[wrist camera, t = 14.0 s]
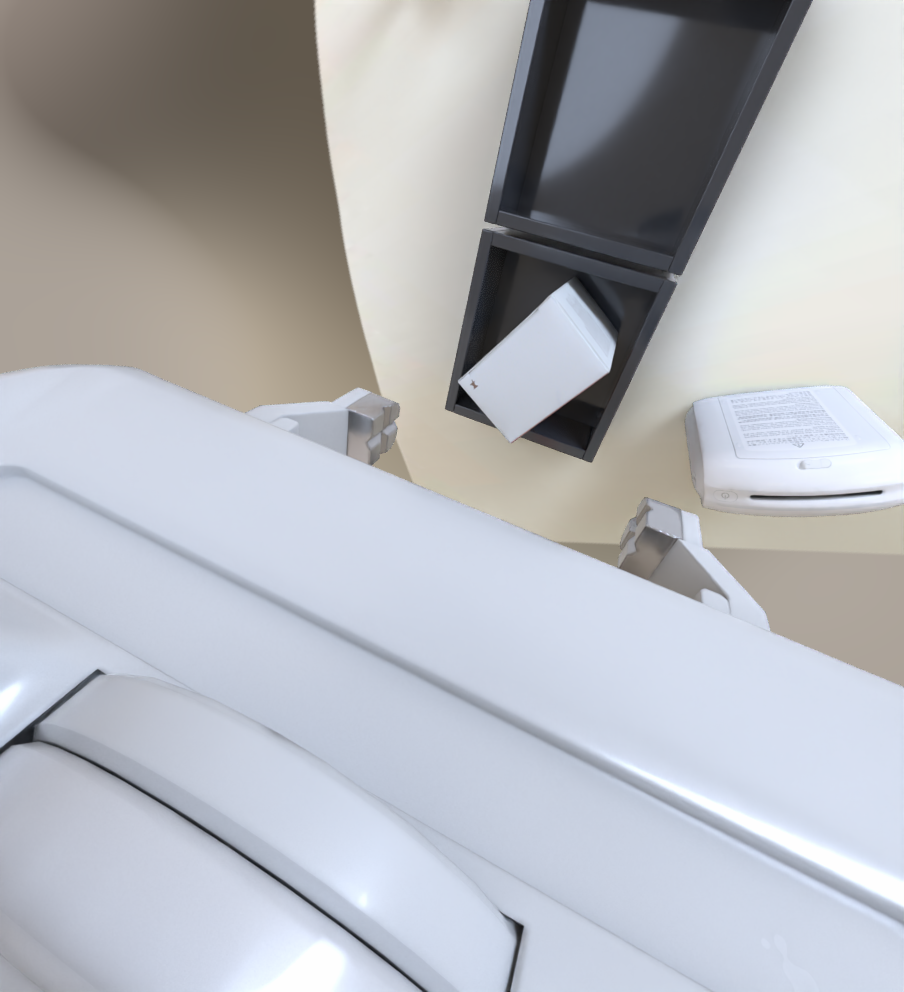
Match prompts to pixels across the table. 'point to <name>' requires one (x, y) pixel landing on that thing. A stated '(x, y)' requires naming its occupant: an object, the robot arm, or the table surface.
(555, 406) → the small box
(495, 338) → the basin
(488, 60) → the table surface
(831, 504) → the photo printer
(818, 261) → the table surface
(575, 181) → the basin
